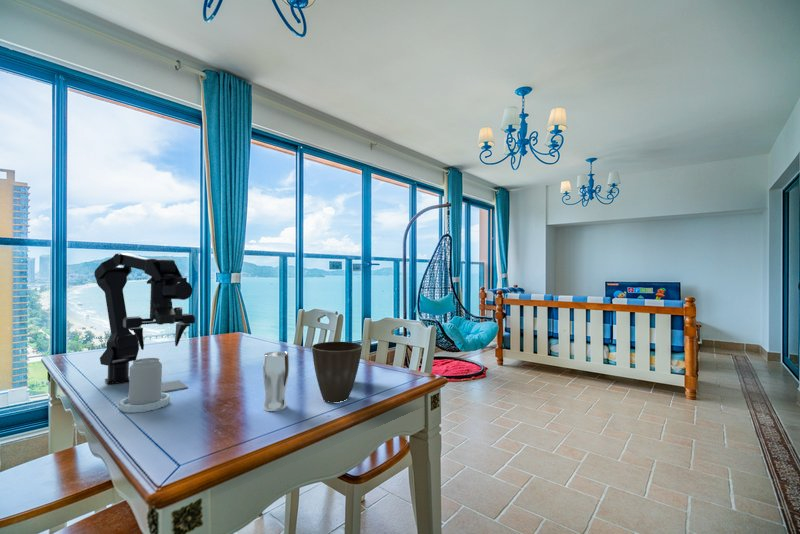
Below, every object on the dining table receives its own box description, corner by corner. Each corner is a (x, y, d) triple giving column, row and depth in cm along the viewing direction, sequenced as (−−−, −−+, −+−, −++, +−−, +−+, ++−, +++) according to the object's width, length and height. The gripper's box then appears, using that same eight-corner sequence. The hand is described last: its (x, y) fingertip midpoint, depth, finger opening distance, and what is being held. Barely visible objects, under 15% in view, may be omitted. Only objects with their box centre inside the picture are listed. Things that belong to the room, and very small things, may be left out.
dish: (116, 404, 105) (116, 397, 105) (163, 395, 113) (164, 389, 113) (123, 416, 97) (123, 409, 97) (173, 405, 105) (174, 399, 105)
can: (134, 409, 100) (136, 364, 100) (124, 403, 104) (125, 359, 104) (165, 402, 106) (166, 359, 106) (154, 396, 110) (155, 355, 111)
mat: (143, 387, 121) (143, 385, 121) (179, 381, 128) (179, 380, 128) (150, 394, 114) (150, 393, 114) (187, 388, 120) (187, 387, 120)
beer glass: (263, 414, 100) (265, 357, 101) (260, 405, 107) (261, 352, 107) (290, 410, 104) (291, 355, 104) (285, 402, 110) (286, 350, 110)
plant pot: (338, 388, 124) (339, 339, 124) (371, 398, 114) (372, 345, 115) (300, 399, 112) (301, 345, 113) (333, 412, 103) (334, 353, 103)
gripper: (130, 301, 107) (128, 356, 107) (201, 299, 120) (199, 348, 120) (123, 298, 115) (121, 350, 115) (190, 296, 128) (189, 342, 128)
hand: (159, 347), depth 119 cm, fingers open, 9 cm apart
